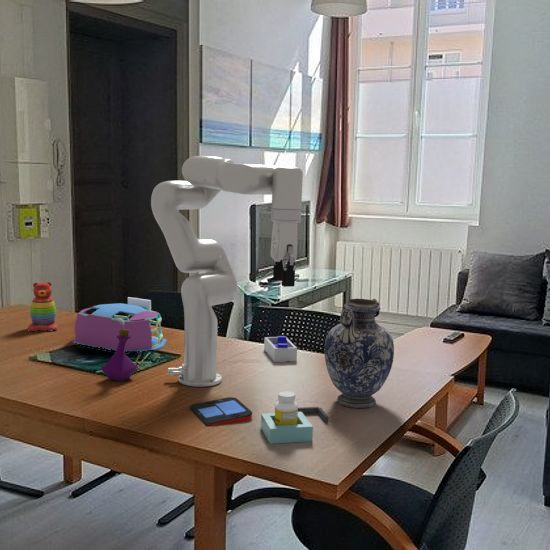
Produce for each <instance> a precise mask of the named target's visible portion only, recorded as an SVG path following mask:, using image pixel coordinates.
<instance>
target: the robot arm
mask: <svg viewBox="0 0 550 550" xmlns="http://www.w3.org/2000/svg"><path fill="white" fill-rule="evenodd" d="M181 174H182V177H183V179H184V180H166V181H162V182H160V183H157V185H156V186H155V187H154V188H153V190H152V194H151V197H150V207H151V211H152V214H153V217H154V219H155V221H156V222H157V224H158V226H159V228H160V229H161V232H162V233H163V236H164V238H165V240H166V245H167V246H168V248H169V252H170V254H171V257H172V259H173V262H174V264H175V266H176V268H177V269H178V271H180V272H181V273H185V274H190V273H191V274H192V273H196V274H193V275H190V276H188V277H187V278H186V279H184V280H183V282H182V284H181V288H180V289H181V290H180V293H181V299H182V305H183V312H184V313H183V314H184V315H183V317H184V325H183V327H184V339H183V340H184V341H183V342H184V347H183V348H184V349H183V363H182V364H181V365H182V366H181V365H180V366H178V367H167V375H172V376H173V377H177V376H178V382H179V383H180V384H182V385H184V386H188V387H196V388H197V387H198V388H200V387H212V386H216V385H219V384H220V383H221V382H223V381H222V380H223V378H222V375H221V374H220V373H217V371H218V369H217V368H218V363H217V362H218V318H217V315H216V313H215V311H214V309H213V306H217V305H222V304H227V303H230V302H232V301H234V300H235V299H236V297H237V295H238V289H239V287H238V281H237V279H236V275H235V273H234V271H233V268H232V265H231V264H230V261H229V259H228V256H227V253H226V251H225V249H224V248H223V246H222V245H221V244H220V243H219V242H218V241H216V240H213V239H211V238H210V239H207V238H204V239H200V238H198V236H196V234H195V231H194V228H193V225H192V224H191V222H190V221H189V220H188V219H187V218H186V216H184V215H183V214H182V213H181V212H180V210H183V211H185V210H200V209H203V208H206V206H208V205H209V204H210V203H211V202H212V201H213V200H214V199H215V197H216V196H218V194H219V193H220V192H221V191H223V192H228V193H233V194H240V195H264V196H265V195H270V196H271V213H270V214H271V215H270V216H271V217H270V218H271V219H270V221H271V222H272V223H273V224H272V231H271V242H270V243H271V244H270V257H271V258H272V259H273V270H272V271H273V273H272V276H273V277H272V279H273V281H281V287H283V288H284V287H286V288H288V287H291V288H292V287H295V285H296V284H295V283H296V261H297V257H298V224H301V223H302V202H303V201H302V200H303V198H302V197H303V181H304V179H303V178H304V173H303V170H302V169H301V167H296V166H277V165H270V164H269V165H268V164H267V165H266V164H251V163H250V164H247V163H237V162H235V161H234V160H232V159H231V158H224V157H223V158H222V157H220V156H209V155H208V156H207V155H195V156H191V157H189V158H186V160H185V161H184V162H183V165H182V167H181ZM201 272H203V273H201Z"/></svg>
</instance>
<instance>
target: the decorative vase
mask: <svg viewBox="0 0 550 550" xmlns="http://www.w3.org/2000/svg"><path fill="white" fill-rule="evenodd" d="M343 308H344V309H342V310H341V311H340V315H339V316H340V317H339V321H340V323H338V324H337V325H335V326H334V327H332V328H331V329H330V330H329V332H328V333H327V334H326V337H325V340H324V342H325V343H324V361H325V366H326V371H327V373H328V375H329V378H330V381H331V382H332V384H333V386H334V387H335V389H337V391H339V392H340V393H341V394H339V395H337V398H336V402H337V403H338V404H339V405H340V406H343V407H345V408H350V409H369V408H373V407H375V405H376V403H377V400H376V398H375V397H374V396H373V395H374V394H376V393H378V392H379V391H380V390H381V388H382V387H383V386H384V385H385V383H386V381H387V379H388V378H389V375H390V372H391V370H392V367H393V364H394V363H393V362H394V357H395V345H394V340H393V337H392V335H391V333H390V332H389V331H388V330H387V329H386V328H385V327H383V326H381V325H379V324H378V323H377V322H376V317H378V316H380V311H381V306H380V303H379V301H378V300H377V299H376V298H372V299H368V298H367V299H366V298H351V299H348V300H347V302H346V303H344V305H343Z"/></svg>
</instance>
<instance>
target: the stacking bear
mask: <svg viewBox="0 0 550 550" xmlns="http://www.w3.org/2000/svg"><path fill="white" fill-rule="evenodd" d="M32 286H33V289H32V290H33V291H32V292H33V295H34V298H33V299H32V301H31V303H30V308H29V314H30V318H31V324H29V325H28V326H27V328H26V329H27V330H29V331H28V332H30V331H35V332H38V331H37V330H48V331H47V332H54V331H53V330H56V331H57V330H58V328H59V327H58V325H57V323H56V322H55V321H56V317H57V308H56V304H55V301H54V299H53V297H51V296H52V292H53V289H52V283H51V282H34V283H33V285H32ZM27 330H26V331H27ZM51 330H52V331H51Z"/></svg>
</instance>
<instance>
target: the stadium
mask: <svg viewBox="0 0 550 550" xmlns="http://www.w3.org/2000/svg"><path fill="white" fill-rule="evenodd" d="M93 309H96V310H95V311H93V312H92V313H91V314H90V313H86V312H88V311H90V310H93ZM119 313H124V314H128V315H126V316H125V315H117V314H119ZM130 316H131V317H130ZM129 317H130V318H129ZM116 318H122V319H123V320H124V322H125V323H124V328H123V325H121V324H120V323H119V322H118V321H116V322H115V324H114V325H113V320H114V319H116ZM154 319H156V320H154ZM161 323H162V316H161V314H160V312H158V311H154V310H152V300H151V299H144V298H139V297H129V296H128V297H127V303H123V302H122V303H104V304H103V303H102V304H98V305H93V306H91V307H88V308H84V309H82V310H80V311H79V312H78V313H77V315H76V320H75V323H74V335H75V336H74V337H75V338H74V339H73V340H72V343H73V342H75V343H79V344H82V345H88V346H92V347H98V348H100V347H102V348H103V349H104V348H105V349H108V350H111V349H112V350H115V351H116V349H117V347H118V344H119V339H118V338H117V335H119V330H121V329H128V330H129V335H130V336H131V338H129V339H128V340H127V341H126V344H125V348H124V350H125V351H126V352H127V351H146V350H154V351H157V350H161V349H163V348H164V347H165V345H166V344H167V341H168V339H167V338H164V335H163V331H162V325H161ZM151 324H153V325H155V327H154V328H151ZM158 328H159V330H160V332H159V330H158ZM153 332H155V333H156V335H157V336H154V335H152V333H153ZM75 343H74V344H75ZM146 352H147V351H146Z"/></svg>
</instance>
